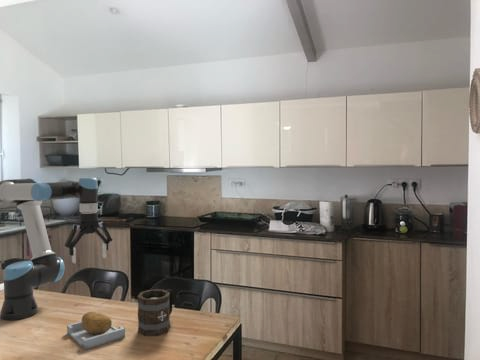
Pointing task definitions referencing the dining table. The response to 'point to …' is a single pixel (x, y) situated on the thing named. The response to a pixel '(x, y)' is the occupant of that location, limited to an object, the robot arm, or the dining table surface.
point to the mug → (154, 312)
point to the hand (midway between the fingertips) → (89, 260)
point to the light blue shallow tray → (90, 340)
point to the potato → (96, 323)
